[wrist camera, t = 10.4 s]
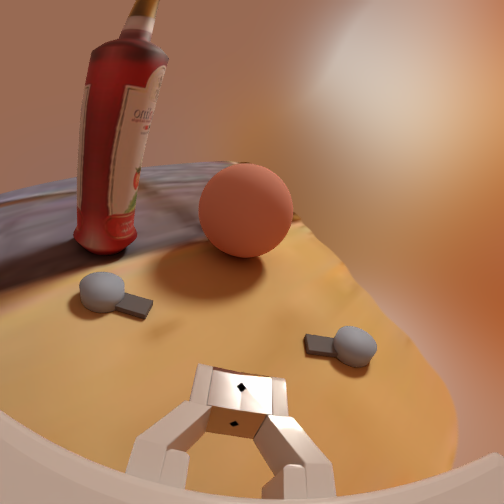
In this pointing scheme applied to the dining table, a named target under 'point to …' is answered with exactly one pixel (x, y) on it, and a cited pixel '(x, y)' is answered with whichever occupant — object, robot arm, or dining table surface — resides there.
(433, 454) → the dining table surface
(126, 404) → the dining table surface
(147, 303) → the grey knobs
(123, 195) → the liquor
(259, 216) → the ball
